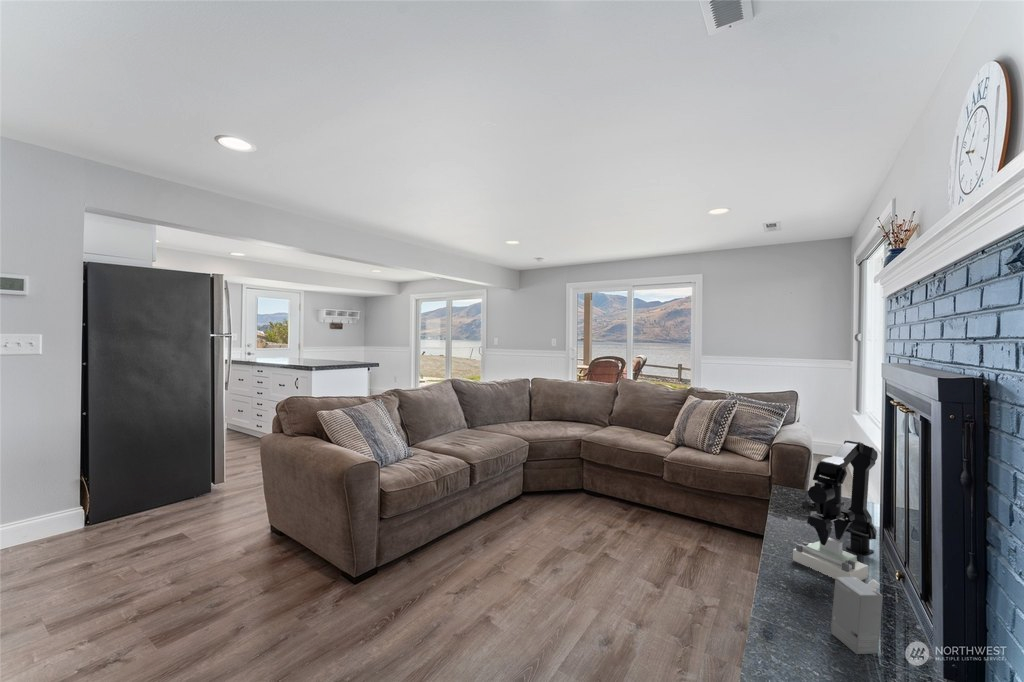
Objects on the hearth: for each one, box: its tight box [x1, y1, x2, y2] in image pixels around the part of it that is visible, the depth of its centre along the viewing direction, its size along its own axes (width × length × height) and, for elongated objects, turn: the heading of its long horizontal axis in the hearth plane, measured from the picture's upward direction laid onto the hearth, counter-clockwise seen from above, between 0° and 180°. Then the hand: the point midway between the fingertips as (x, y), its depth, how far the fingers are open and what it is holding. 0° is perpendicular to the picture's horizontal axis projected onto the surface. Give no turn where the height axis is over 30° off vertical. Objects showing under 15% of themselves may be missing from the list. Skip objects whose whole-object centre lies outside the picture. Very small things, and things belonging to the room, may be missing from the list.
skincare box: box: [830, 577, 884, 655], centre depth 114 cm, size 8×7×16 cm
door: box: [799, 536, 858, 569], centre depth 151 cm, size 9×16×6 cm, turn 27°
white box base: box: [792, 541, 869, 581], centre depth 151 cm, size 11×18×6 cm, turn 27°
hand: (830, 542), depth 151 cm, fingers open, 9 cm apart
